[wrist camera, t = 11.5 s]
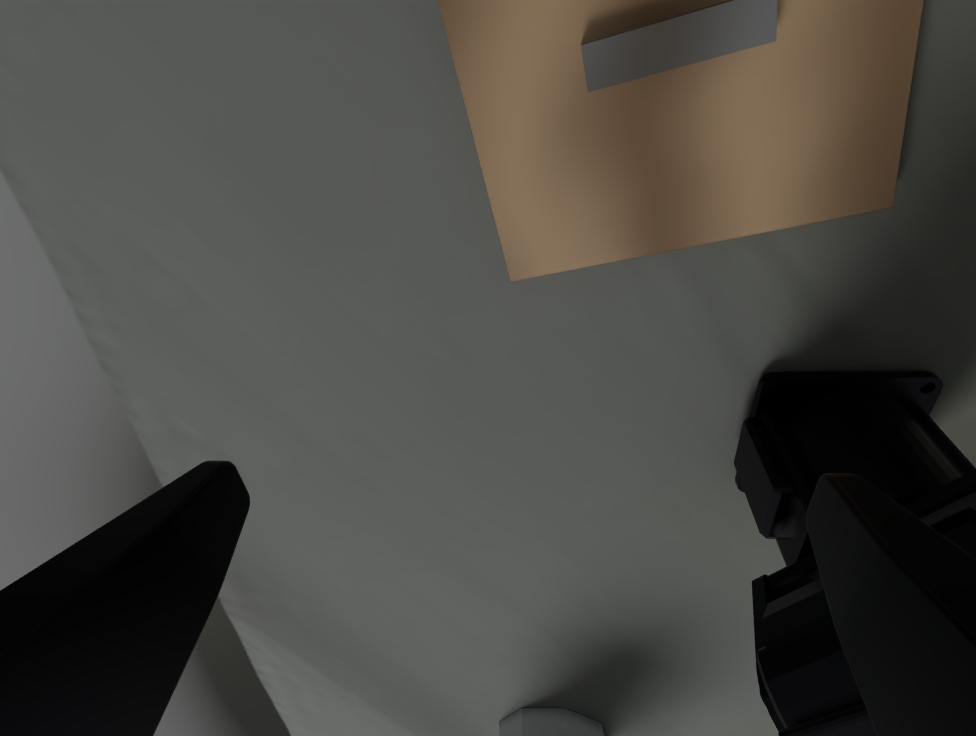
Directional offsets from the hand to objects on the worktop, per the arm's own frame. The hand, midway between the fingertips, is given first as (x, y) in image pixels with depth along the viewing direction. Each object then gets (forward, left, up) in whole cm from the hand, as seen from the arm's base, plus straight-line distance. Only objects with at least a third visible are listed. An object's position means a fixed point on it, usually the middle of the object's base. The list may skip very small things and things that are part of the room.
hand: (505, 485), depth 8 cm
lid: (-4, -5, -13) cm, 14 cm away
